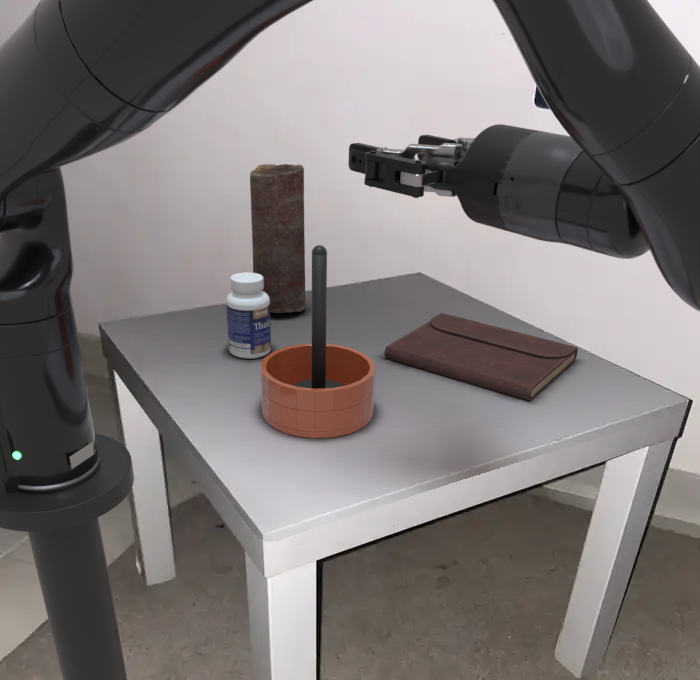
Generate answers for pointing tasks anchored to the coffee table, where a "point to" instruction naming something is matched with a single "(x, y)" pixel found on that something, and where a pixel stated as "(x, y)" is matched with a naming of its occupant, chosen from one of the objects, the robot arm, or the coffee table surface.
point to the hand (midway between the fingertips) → (387, 151)
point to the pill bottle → (248, 316)
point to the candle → (279, 234)
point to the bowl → (317, 392)
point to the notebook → (484, 355)
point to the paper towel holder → (319, 322)
